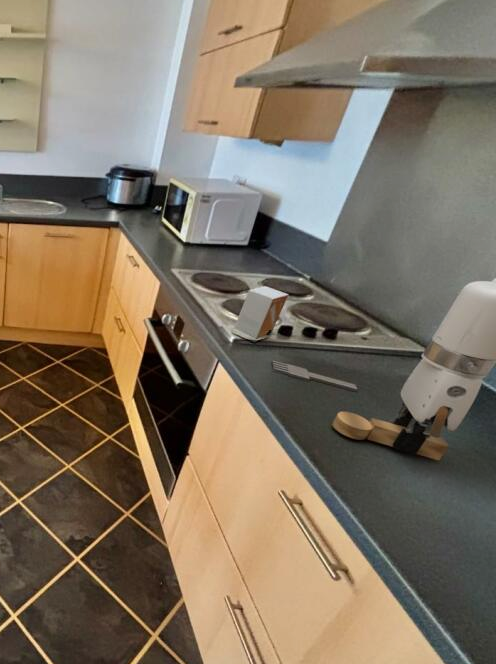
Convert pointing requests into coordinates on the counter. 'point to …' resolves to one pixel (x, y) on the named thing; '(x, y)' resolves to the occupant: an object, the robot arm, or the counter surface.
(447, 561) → the counter surface
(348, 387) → the serving fork
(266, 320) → the small box
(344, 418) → the wooden spoon
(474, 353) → the robot arm
